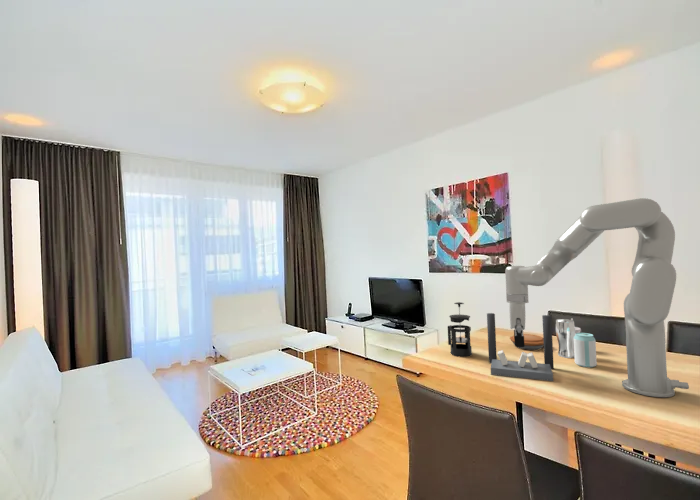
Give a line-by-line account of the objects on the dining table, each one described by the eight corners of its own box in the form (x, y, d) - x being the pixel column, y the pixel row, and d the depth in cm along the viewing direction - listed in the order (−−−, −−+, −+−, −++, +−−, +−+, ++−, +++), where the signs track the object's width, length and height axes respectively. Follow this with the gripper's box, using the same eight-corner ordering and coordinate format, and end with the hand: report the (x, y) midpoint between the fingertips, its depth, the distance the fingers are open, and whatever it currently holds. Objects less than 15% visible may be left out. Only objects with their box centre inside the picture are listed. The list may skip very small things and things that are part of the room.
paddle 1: (507, 361, 131) (502, 350, 132) (507, 364, 128) (502, 352, 128) (502, 362, 132) (498, 351, 133) (502, 365, 128) (497, 354, 129)
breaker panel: (550, 370, 128) (549, 364, 128) (553, 381, 118) (552, 374, 118) (492, 365, 137) (492, 359, 137) (490, 374, 127) (490, 367, 127)
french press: (478, 354, 152) (475, 302, 152) (464, 358, 147) (462, 305, 147) (456, 348, 162) (454, 300, 162) (443, 352, 156) (440, 302, 157)
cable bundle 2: (553, 367, 132) (550, 315, 132) (554, 369, 129) (551, 316, 130) (544, 366, 133) (542, 315, 134) (545, 368, 131) (542, 316, 131)
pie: (507, 348, 159) (506, 338, 159) (513, 341, 172) (512, 331, 172) (545, 353, 150) (544, 341, 150) (548, 344, 163) (548, 334, 163)
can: (573, 361, 138) (572, 331, 138) (594, 363, 135) (593, 332, 135) (576, 366, 132) (574, 335, 132) (598, 369, 128) (597, 337, 129)
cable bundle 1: (497, 361, 141) (494, 313, 141) (496, 364, 138) (494, 314, 138) (489, 361, 142) (487, 313, 142) (488, 363, 139) (486, 314, 140)
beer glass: (579, 358, 141) (577, 322, 141) (560, 358, 142) (559, 322, 143) (571, 353, 148) (570, 318, 148) (554, 353, 149) (552, 318, 149)
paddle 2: (537, 363, 127) (532, 352, 128) (537, 367, 123) (532, 355, 124) (532, 365, 128) (527, 353, 128) (532, 368, 124) (527, 356, 125)
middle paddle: (523, 364, 129) (527, 353, 128) (523, 367, 125) (527, 356, 125) (518, 362, 130) (522, 351, 129) (518, 365, 126) (522, 354, 126)
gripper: (506, 295, 140) (508, 337, 139) (506, 301, 124) (508, 348, 124) (527, 295, 136) (529, 338, 136) (529, 301, 121) (531, 350, 120)
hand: (519, 343), depth 130 cm, fingers open, 9 cm apart
